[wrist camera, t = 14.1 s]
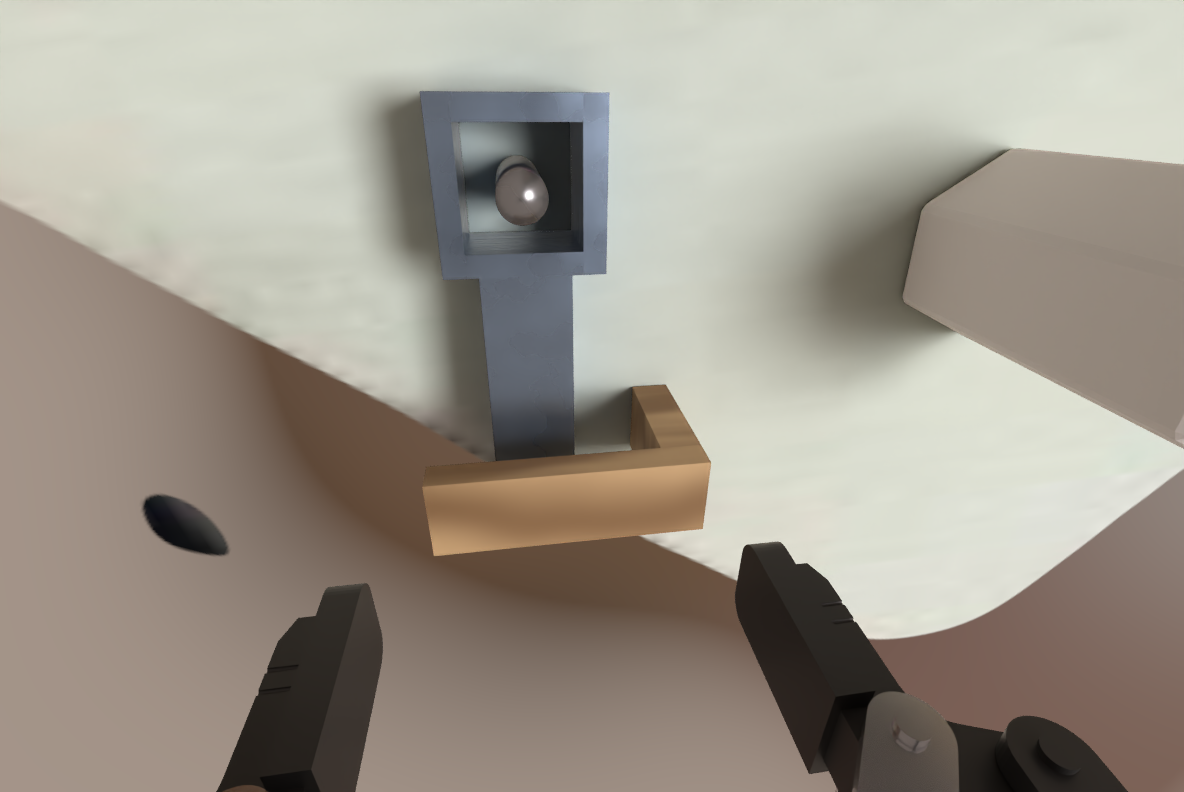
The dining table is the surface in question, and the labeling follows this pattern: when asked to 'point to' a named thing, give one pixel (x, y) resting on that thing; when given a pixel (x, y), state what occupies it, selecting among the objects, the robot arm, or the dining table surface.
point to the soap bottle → (1066, 275)
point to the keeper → (576, 489)
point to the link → (524, 262)
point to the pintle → (520, 191)
